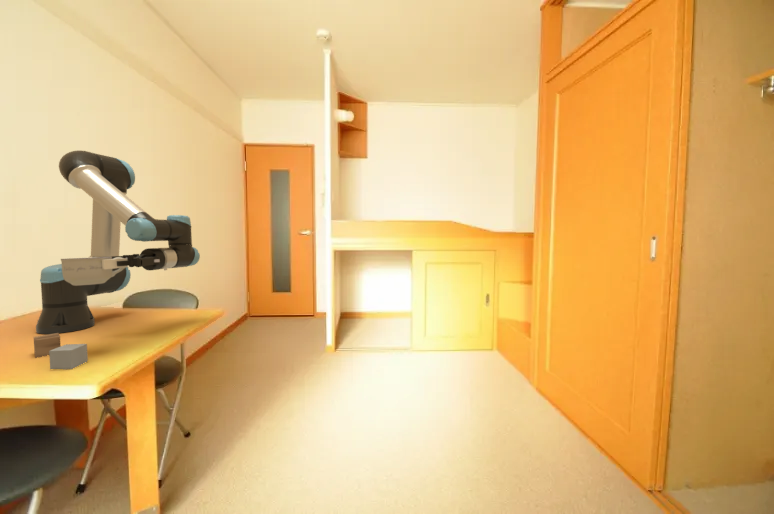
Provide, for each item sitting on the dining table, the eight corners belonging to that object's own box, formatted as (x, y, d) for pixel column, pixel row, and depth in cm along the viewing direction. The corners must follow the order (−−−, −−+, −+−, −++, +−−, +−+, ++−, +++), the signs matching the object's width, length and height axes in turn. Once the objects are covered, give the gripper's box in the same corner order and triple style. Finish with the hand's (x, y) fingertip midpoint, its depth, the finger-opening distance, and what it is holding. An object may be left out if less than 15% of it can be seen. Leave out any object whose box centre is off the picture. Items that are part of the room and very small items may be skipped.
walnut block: (34, 353, 93) (33, 336, 93) (59, 349, 97) (58, 332, 96) (35, 358, 90) (34, 340, 89) (60, 353, 94) (60, 336, 93)
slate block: (50, 370, 82) (49, 350, 82) (67, 362, 87) (66, 344, 87) (72, 369, 83) (71, 350, 82) (87, 361, 88) (86, 343, 87)
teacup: (55, 288, 85) (54, 258, 85) (69, 283, 94) (67, 255, 94) (123, 285, 92) (122, 257, 92) (129, 280, 101) (128, 255, 101)
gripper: (186, 270, 111) (120, 278, 90) (131, 268, 116) (57, 275, 95) (185, 248, 110) (119, 251, 89) (130, 247, 116) (55, 249, 94)
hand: (87, 263), depth 92 cm, fingers closed on teacup, 11 cm apart
